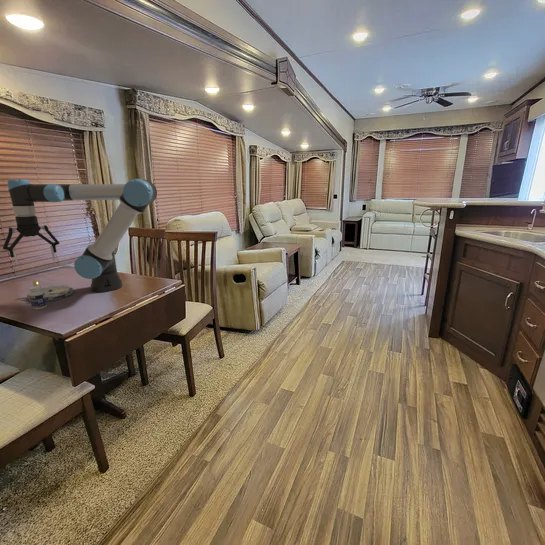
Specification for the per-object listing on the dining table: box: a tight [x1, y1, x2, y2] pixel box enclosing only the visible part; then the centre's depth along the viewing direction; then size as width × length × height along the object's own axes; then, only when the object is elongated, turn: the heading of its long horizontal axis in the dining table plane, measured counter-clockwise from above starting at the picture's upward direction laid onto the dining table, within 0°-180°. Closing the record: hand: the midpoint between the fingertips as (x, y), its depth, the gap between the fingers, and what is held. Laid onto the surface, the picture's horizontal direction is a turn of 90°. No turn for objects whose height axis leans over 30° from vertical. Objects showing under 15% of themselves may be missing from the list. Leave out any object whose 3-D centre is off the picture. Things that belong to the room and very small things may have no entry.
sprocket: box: [26, 280, 74, 300], centre depth 146 cm, size 18×18×7 cm
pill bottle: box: [28, 285, 48, 310], centre depth 132 cm, size 5×5×10 cm
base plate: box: [28, 290, 74, 303], centre depth 147 cm, size 18×18×1 cm
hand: (36, 261), depth 136 cm, fingers open, 13 cm apart
